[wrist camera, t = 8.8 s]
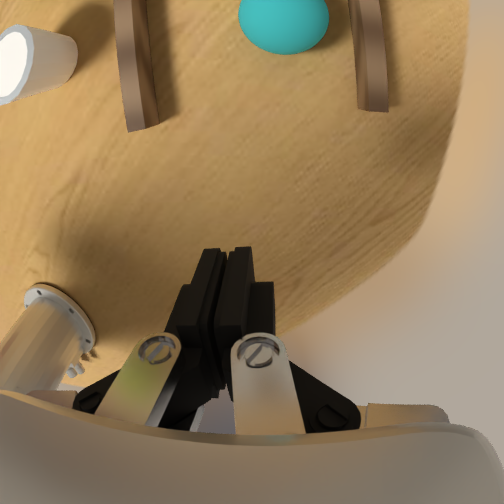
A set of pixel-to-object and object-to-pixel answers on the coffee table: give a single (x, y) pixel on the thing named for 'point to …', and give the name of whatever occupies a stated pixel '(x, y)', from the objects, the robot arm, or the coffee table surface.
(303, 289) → the coffee table surface
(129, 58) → the bumper lane
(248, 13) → the ball
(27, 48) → the white cup
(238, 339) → the robot arm
